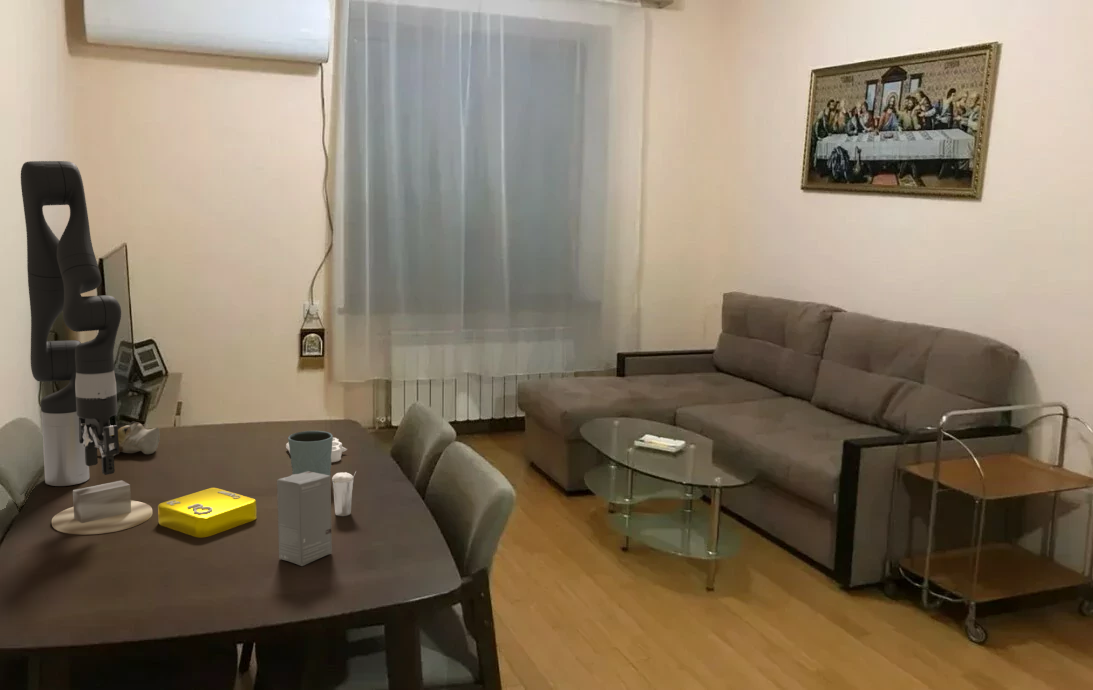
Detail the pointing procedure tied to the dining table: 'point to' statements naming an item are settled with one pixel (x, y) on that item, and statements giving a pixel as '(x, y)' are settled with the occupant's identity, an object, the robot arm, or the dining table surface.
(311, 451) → the blue-grey pot
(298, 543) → the skincare box
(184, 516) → the element tile
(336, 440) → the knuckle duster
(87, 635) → the dining table surface
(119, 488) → the lid
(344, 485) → the milkshake
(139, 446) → the ceramic sculpture
